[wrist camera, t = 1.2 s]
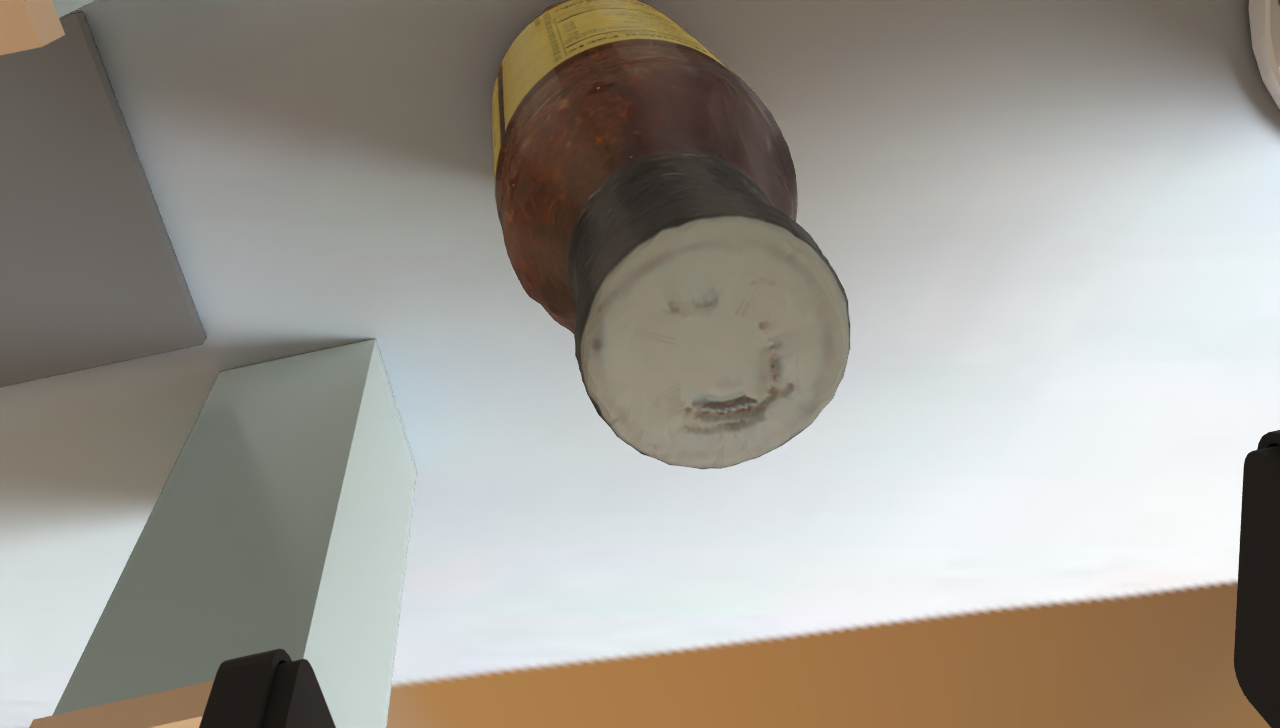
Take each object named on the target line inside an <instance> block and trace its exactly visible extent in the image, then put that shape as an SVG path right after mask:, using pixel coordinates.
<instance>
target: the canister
mask: <svg viewBox="0 0 1280 728" xmlns="http://www.w3.org/2000/svg"><path fill="white" fill-rule="evenodd" d="M416 474H417V470H416V467H415V464H414V461H413V457H412V454H411V451H410V448H409V445H408V441H407V438H406V435H405V432H404V428H403V425H402V422H401V419H400V416H399V412H398V409H397V406H396V403H395V400H394V396H393V393H392V390H391V387H390V383H389V380H388V377H387V374H386V371H385V367H384V364H383V361H382V358H381V355H380V351H379V348H378V345H377V342H376V339H371V340H367V341H362V342H357V343H352V344H348V345H343V346H338V347H334V348H329V349H324V350H319V351H315V352H310V353H305V354H301V355H296V356H291V357H286V358H282V359H277V360H272V361H268V362H263V363H258V364H254V365H249V366H244V367H239V368H235V369H230V370H225V371H221V372H220V373H219V375H218V377H217V379H216V381H215V383H214V385H213V387H212V389H211V391H210V393H209V395H208V397H207V400H206V402H205V404H204V406H203V408H202V410H201V412H200V414H199V416H198V418H197V420H196V422H195V424H194V426H193V428H192V430H191V432H190V434H189V436H188V438H187V441H186V443H185V445H184V447H183V449H182V451H181V453H180V455H179V457H178V459H177V461H176V463H175V465H174V467H173V469H172V471H171V473H170V475H169V477H168V479H167V482H166V484H165V486H164V488H163V490H162V492H161V494H160V496H159V498H158V500H157V502H156V504H155V506H154V508H153V510H152V512H151V514H150V516H149V518H148V521H147V523H146V525H145V527H144V529H143V531H142V533H141V535H140V537H139V539H138V541H137V543H136V545H135V547H134V549H133V551H132V553H131V555H130V557H129V559H128V562H127V564H126V566H125V568H124V570H123V572H122V574H121V576H120V578H119V580H118V582H117V584H116V586H115V588H114V590H113V592H112V594H111V596H110V598H109V600H108V603H107V605H106V607H105V609H104V611H103V613H102V615H101V617H100V619H99V621H98V623H97V625H96V627H95V629H94V631H93V633H92V635H91V637H90V639H89V641H88V644H87V646H86V648H85V650H84V652H83V654H82V656H81V658H80V660H79V662H78V664H77V666H76V668H75V670H74V672H73V674H72V676H71V678H70V680H69V683H68V685H67V687H66V689H65V691H64V693H63V695H62V697H61V699H60V701H59V703H58V705H57V707H56V709H55V711H54V713H53V715H52V716H49V717H44V718H39V719H35V720H33V721H32V723H31V725H30V727H29V728H199V726H200V723H201V720H202V717H203V714H204V711H205V708H206V704H207V701H208V698H209V695H210V692H211V689H212V686H213V683H214V680H215V676H216V673H217V670H218V668H219V666H220V664H221V663H222V662H224V661H225V660H230V659H234V658H239V657H243V656H248V655H252V654H257V653H262V652H266V651H271V650H275V649H283V650H285V651H286V652H287V653H288V655H289V656H290V658H291V660H292V661H296V660H300V659H306V660H308V661H309V663H310V664H311V666H312V668H313V670H314V673H315V675H316V678H317V680H318V683H319V685H320V688H321V691H322V693H323V696H324V698H325V701H326V703H327V706H328V709H329V711H330V714H331V716H332V719H333V721H334V724H335V726H336V728H386V726H387V718H388V710H389V701H390V693H391V685H392V676H393V668H394V659H395V651H396V643H397V634H398V626H399V617H400V609H401V601H402V592H403V584H404V575H405V567H406V558H407V550H408V542H409V533H410V525H411V516H412V508H413V500H414V491H415V483H416Z"/></svg>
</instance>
